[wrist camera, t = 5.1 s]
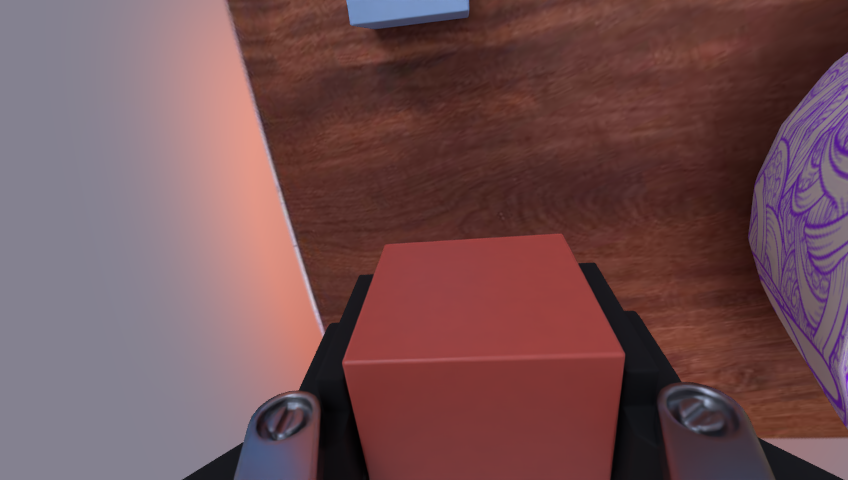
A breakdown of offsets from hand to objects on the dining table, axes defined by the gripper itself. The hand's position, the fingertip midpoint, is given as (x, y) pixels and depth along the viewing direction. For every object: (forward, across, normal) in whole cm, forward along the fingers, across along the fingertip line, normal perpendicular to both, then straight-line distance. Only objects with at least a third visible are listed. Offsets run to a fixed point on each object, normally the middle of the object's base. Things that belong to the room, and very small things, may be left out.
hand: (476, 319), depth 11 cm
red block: (0, 0, 0) cm, 0 cm away
